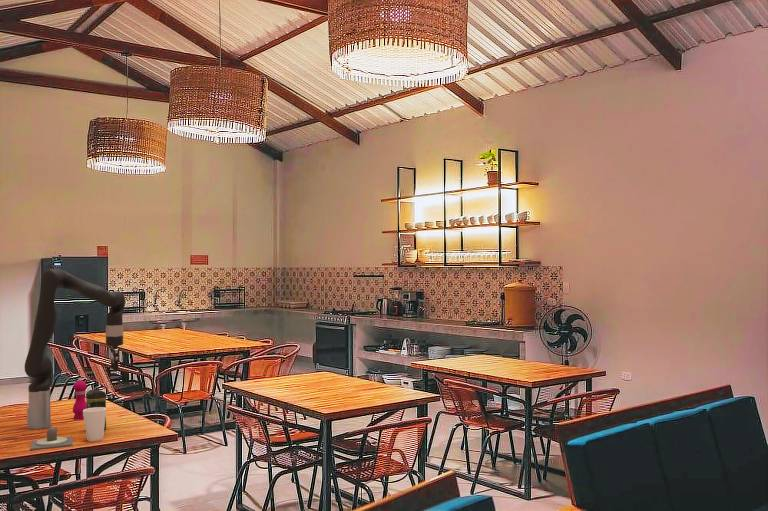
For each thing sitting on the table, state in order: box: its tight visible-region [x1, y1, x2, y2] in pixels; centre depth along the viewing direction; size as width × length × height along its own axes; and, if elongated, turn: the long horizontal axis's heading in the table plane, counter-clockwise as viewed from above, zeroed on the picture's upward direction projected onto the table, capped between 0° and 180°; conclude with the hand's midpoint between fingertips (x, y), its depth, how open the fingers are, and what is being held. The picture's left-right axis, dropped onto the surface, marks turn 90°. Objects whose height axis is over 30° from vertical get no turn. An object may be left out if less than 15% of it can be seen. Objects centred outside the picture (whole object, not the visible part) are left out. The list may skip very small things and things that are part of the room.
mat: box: [29, 436, 74, 451], centre depth 311 cm, size 16×16×1 cm
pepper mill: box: [72, 377, 88, 421], centre depth 363 cm, size 7×7×20 cm
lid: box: [36, 426, 67, 446], centre depth 311 cm, size 12×12×6 cm
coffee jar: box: [85, 388, 107, 431], centre depth 335 cm, size 10×8×19 cm
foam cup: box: [83, 407, 107, 442], centre depth 318 cm, size 10×9×13 cm
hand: (114, 370), depth 338 cm, fingers open, 8 cm apart
